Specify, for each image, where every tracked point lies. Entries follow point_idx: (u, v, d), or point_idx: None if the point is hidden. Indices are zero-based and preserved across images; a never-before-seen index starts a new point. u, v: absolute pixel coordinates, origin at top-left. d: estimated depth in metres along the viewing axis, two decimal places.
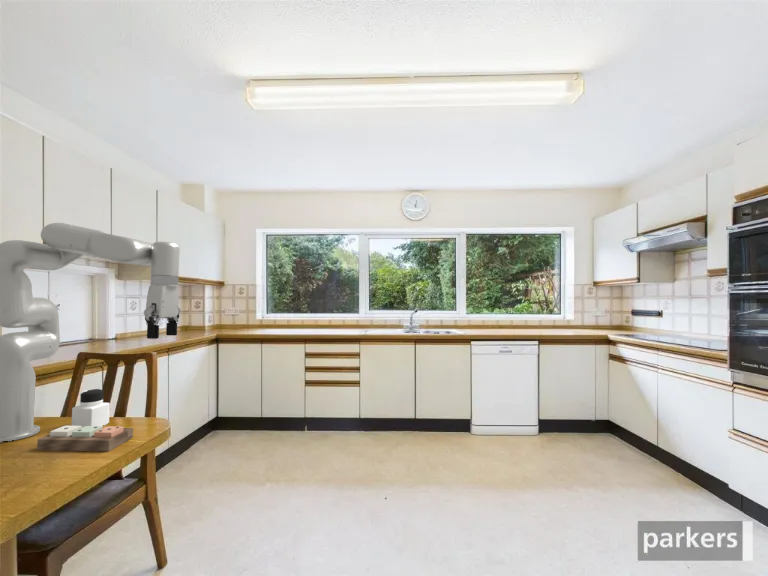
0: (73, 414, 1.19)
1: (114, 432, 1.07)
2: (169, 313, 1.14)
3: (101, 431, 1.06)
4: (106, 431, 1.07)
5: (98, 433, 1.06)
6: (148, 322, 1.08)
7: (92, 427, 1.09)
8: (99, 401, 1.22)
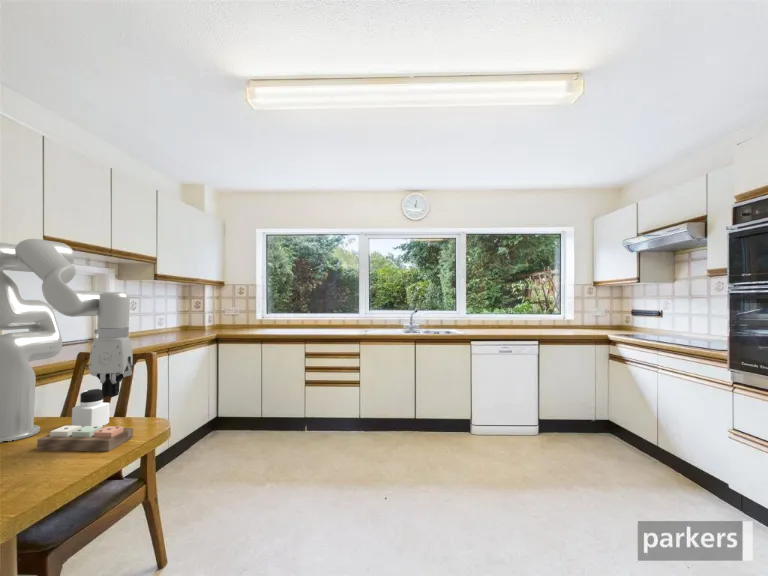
0: (73, 414, 1.19)
1: (114, 432, 1.07)
2: None
3: (101, 431, 1.06)
4: (106, 431, 1.07)
5: (98, 433, 1.06)
6: (119, 380, 1.08)
7: (92, 427, 1.09)
8: (99, 401, 1.22)
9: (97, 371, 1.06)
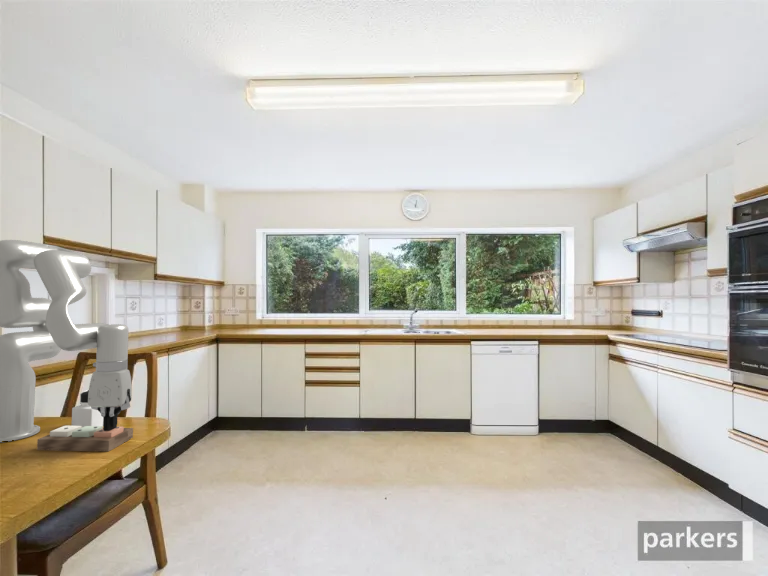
0: (73, 414, 1.19)
1: (114, 432, 1.07)
2: None
3: (101, 431, 1.06)
4: (106, 431, 1.07)
5: (98, 433, 1.06)
6: (117, 412, 1.08)
7: (92, 427, 1.09)
8: None
9: (96, 405, 1.06)
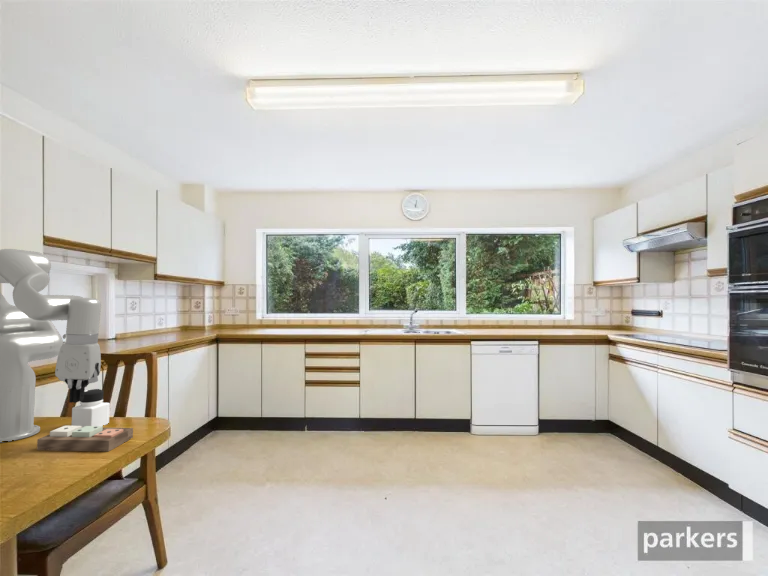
0: (73, 414, 1.19)
1: (114, 435, 1.07)
2: None
3: (101, 434, 1.06)
4: (106, 434, 1.07)
5: (98, 436, 1.06)
6: (84, 385, 1.08)
7: (92, 427, 1.09)
8: (99, 401, 1.22)
9: (63, 376, 1.06)
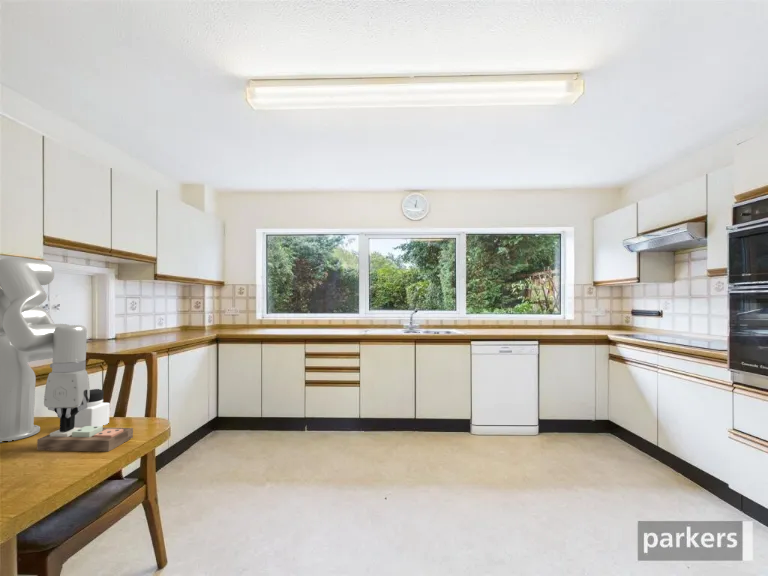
0: None
1: (114, 435, 1.07)
2: None
3: (101, 434, 1.06)
4: (106, 434, 1.07)
5: (98, 436, 1.06)
6: (74, 413, 1.08)
7: (92, 427, 1.09)
8: (99, 401, 1.22)
9: (52, 406, 1.06)
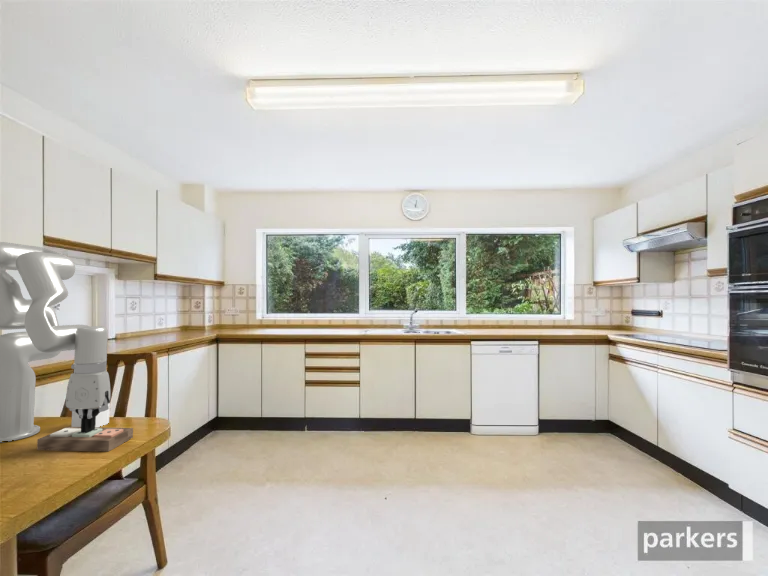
0: (73, 414, 1.19)
1: (114, 435, 1.07)
2: None
3: (101, 434, 1.06)
4: (106, 434, 1.07)
5: (98, 436, 1.06)
6: (95, 414, 1.08)
7: None
8: None
9: (74, 407, 1.06)
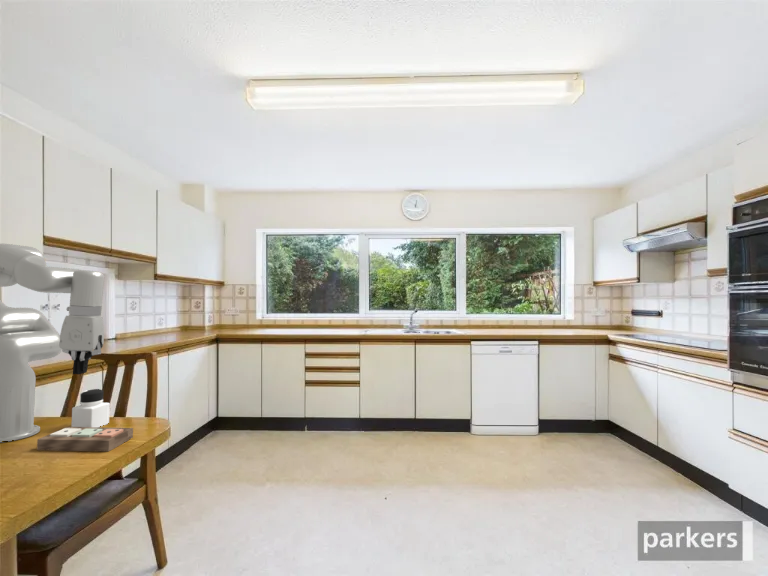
0: (73, 414, 1.19)
1: (114, 435, 1.07)
2: None
3: (101, 434, 1.06)
4: (106, 434, 1.07)
5: (98, 436, 1.06)
6: (88, 357, 1.09)
7: (92, 430, 1.09)
8: (99, 401, 1.22)
9: (67, 348, 1.07)
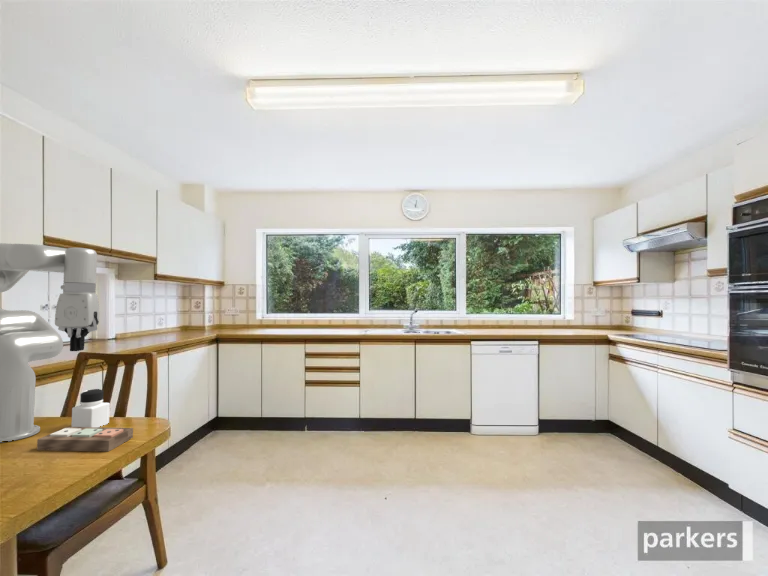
0: (73, 414, 1.19)
1: (114, 435, 1.07)
2: None
3: (101, 434, 1.06)
4: (106, 434, 1.07)
5: (98, 436, 1.06)
6: (84, 334, 1.10)
7: (92, 430, 1.09)
8: (99, 401, 1.22)
9: (63, 325, 1.07)
